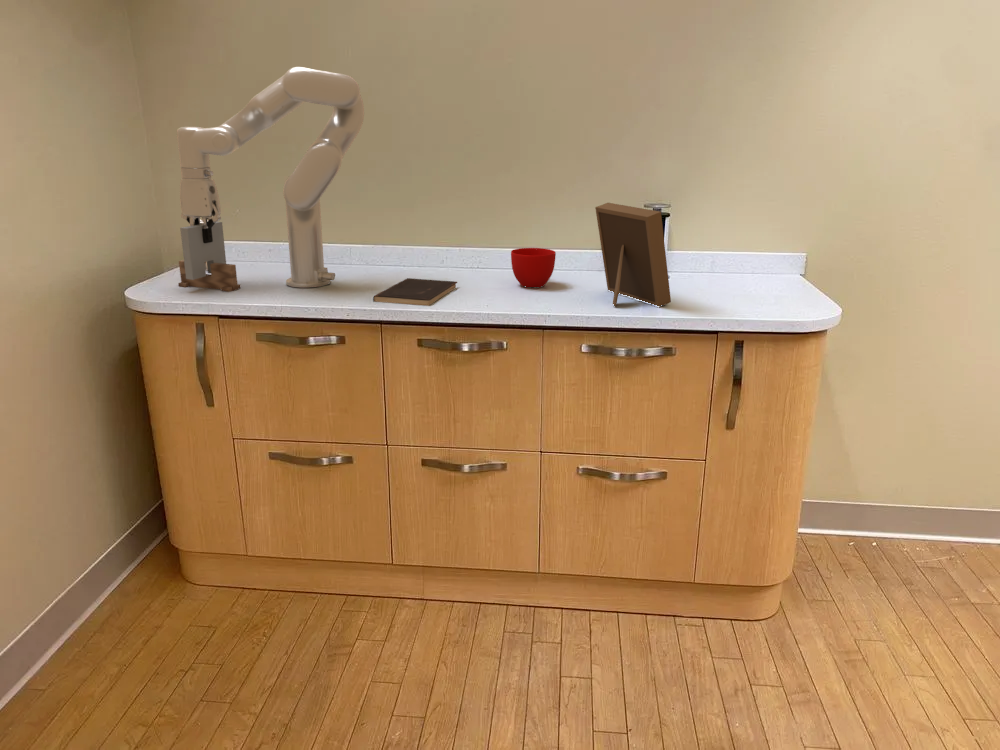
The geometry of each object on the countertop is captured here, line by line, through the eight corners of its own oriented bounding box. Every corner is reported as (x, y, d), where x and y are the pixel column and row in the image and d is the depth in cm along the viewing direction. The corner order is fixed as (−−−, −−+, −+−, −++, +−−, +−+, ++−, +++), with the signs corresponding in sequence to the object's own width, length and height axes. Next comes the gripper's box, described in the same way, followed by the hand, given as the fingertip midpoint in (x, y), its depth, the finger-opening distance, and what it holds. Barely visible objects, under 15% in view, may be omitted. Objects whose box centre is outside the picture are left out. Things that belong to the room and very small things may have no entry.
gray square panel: (226, 270, 222) (222, 222, 217) (193, 279, 209) (187, 228, 205) (220, 269, 223) (215, 221, 218) (186, 278, 210) (180, 227, 206)
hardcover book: (457, 289, 221) (457, 281, 220) (429, 308, 200) (429, 299, 199) (405, 285, 224) (405, 277, 224) (373, 303, 204) (372, 295, 203)
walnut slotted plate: (241, 288, 217) (238, 263, 214) (229, 291, 212) (227, 266, 210) (190, 282, 222) (187, 259, 220) (178, 286, 218) (174, 262, 216)
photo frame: (619, 289, 220) (624, 201, 211) (670, 305, 202) (677, 210, 194) (577, 295, 213) (580, 204, 205) (626, 313, 195) (632, 214, 187)
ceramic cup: (555, 278, 233) (556, 246, 230) (553, 291, 217) (555, 256, 214) (513, 277, 234) (513, 245, 231) (508, 289, 218) (509, 255, 215)
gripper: (229, 174, 208) (236, 242, 214) (182, 172, 213) (189, 238, 219) (211, 176, 201) (218, 246, 207) (162, 173, 206) (170, 242, 212)
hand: (203, 241), depth 213 cm, fingers closed on gray square panel, 2 cm apart
